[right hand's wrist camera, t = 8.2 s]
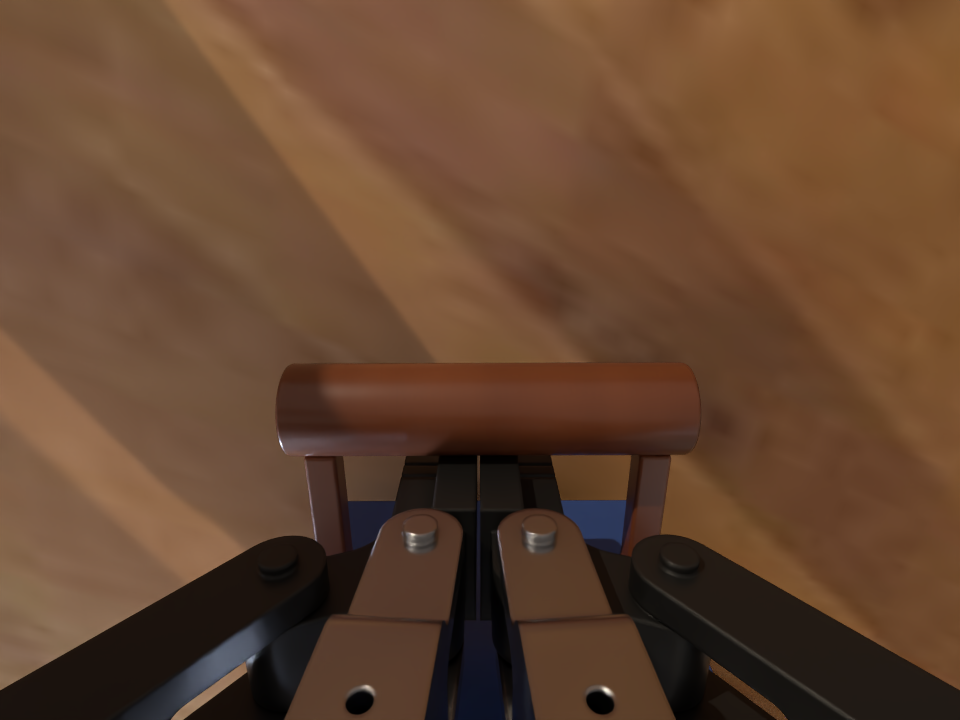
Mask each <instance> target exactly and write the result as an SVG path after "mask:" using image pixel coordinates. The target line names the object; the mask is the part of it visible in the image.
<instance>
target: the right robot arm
mask: <svg viewBox="0 0 960 720" xmlns="http://www.w3.org/2000/svg"><path fill="white" fill-rule="evenodd" d="M476 585H477V456H406V460H405V466H404V468H403V472H402V477H401V480H400V484H399V488H398V492H397V497H396V501H395V505H394V509H393V513H392V517H391V518H390V519H389V520H387V521H386V522H385V523H384V524H383V526H382V527H381V529H380V531H379V533H378V535H377V538H376V540H374V541H373V542H371V543H369V544H367V545H365V546H363V547H360V548H358V549H355V550H351V551H348V552H343V553H339V554H334V555H330V556H326V552H325V549H324V548H323V546H322V545H321V544H320V543H318V542H317V541H315V540H313V539H311V538H308V537H303V536H283V537H278V538H274V539H270V540H267V541H265V542H262V543H260V544H258V545H256V546H254V547H252V548H250V549H249V550H247V551H245V552H243V553H241V554H240V555H238V556H236V557H234V558H233V559H231V560H229V561H227V562H226V563H224V564H222V565H220V566H219V567H217V568H215V569H213V570H212V571H210V572H208V573H206V574H204V575H203V576H201V577H199V578H197V579H196V580H194V581H192V582H190V583H189V584H187V585H185V586H183V587H182V588H180V589H178V590H176V591H175V592H173V593H171V594H169V595H167V596H166V597H164V598H162V599H160V600H159V601H157V602H155V603H153V604H152V605H150V606H148V607H146V608H145V609H143V610H141V611H139V612H138V613H136V614H134V615H132V616H130V617H129V618H127V619H125V620H123V621H122V622H120V623H118V624H116V625H115V626H113V627H111V628H109V629H108V630H106V631H104V632H102V633H101V634H99V635H97V636H95V637H94V638H92V639H90V640H88V641H86V642H85V643H83V644H81V645H79V646H78V647H76V648H74V649H72V650H71V651H69V652H67V653H65V654H64V655H62V656H60V657H58V658H57V659H55V660H53V661H51V662H49V663H48V664H46V665H44V666H42V667H41V668H39V669H37V670H35V671H34V672H32V673H30V674H28V675H27V676H25V677H23V678H21V679H20V680H18V681H16V682H14V683H12V684H11V685H9V686H7V687H5V688H4V689H2V690H0V720H171V718H172V717H173V716H174V715H175V714H176V712H177V711H179V710H180V709H181V708H182V707H183V706H184V705H185V704H187V703H188V702H189V701H191V700H192V699H194V698H195V697H196V696H198V695H199V694H201V693H202V692H203V691H205V690H206V689H207V688H209V687H210V686H212V685H213V684H214V683H216V682H217V681H218V680H220V679H221V678H223V677H224V676H225V675H227V674H228V673H230V672H231V671H232V670H234V669H235V668H236V667H238V666H239V665H241V664H242V663H243V662H246V667H247V673H246V674H244V675H243V676H242V677H240V678H239V679H237V680H236V681H235V682H233V683H232V684H231V685H229V686H228V687H227V688H225V689H224V690H223V691H221V692H220V693H219V694H217V695H216V696H215V697H213V698H212V699H211V700H209V701H208V702H207V703H205V704H204V705H202V706H201V707H200V708H198V709H197V710H196V711H194V712H193V713H192V714H190V715H189V716H188V717H186V718H185V719H184V720H458V712H459V703H460V695H461V686H462V678H463V669H464V626H465V620H476ZM480 621H492V641H493V644H494V647H495V649H496V670H497V678H498V687H499V695H500V704H501V712H502V720H776V719H775V718H774V717H772V716H771V715H770V714H768V713H767V712H766V711H764V710H763V709H762V708H760V707H759V706H758V705H756V704H755V703H753V702H752V701H751V700H749V699H748V698H747V697H745V696H744V695H743V694H741V693H740V692H739V691H737V690H736V689H735V688H733V687H732V686H731V685H729V684H728V683H727V682H725V681H724V680H722V679H721V678H720V677H718V676H717V675H716V674H714V673H713V672H712V671H710V670H709V665H710V660H711V659H713V660H714V661H715V662H717V663H718V664H719V665H721V666H722V667H724V668H725V669H726V670H728V671H729V672H730V673H732V674H733V675H735V676H736V677H737V678H739V679H740V680H741V681H743V682H744V683H746V684H747V685H748V686H750V687H751V688H753V689H754V690H755V691H757V692H758V693H759V694H761V695H762V696H764V697H765V698H766V699H768V700H769V701H770V702H772V703H773V704H774V705H775V706H777V707H778V708H779V709H780V710H781V712H782V713H783V714H784V715H785V716H786V718H787V719H788V720H960V690H958V689H956V688H955V687H953V686H951V685H949V684H948V683H946V682H944V681H942V680H940V679H939V678H937V677H935V676H933V675H932V674H930V673H928V672H926V671H925V670H923V669H921V668H919V667H918V666H916V665H914V664H912V663H911V662H909V661H907V660H905V659H903V658H902V657H900V656H898V655H896V654H895V653H893V652H891V651H889V650H888V649H886V648H884V647H882V646H881V645H879V644H877V643H875V642H874V641H872V640H870V639H868V638H866V637H865V636H863V635H861V634H859V633H858V632H856V631H854V630H852V629H851V628H849V627H847V626H845V625H844V624H842V623H840V622H838V621H837V620H835V619H833V618H831V617H829V616H828V615H826V614H824V613H822V612H821V611H819V610H817V609H815V608H814V607H812V606H810V605H808V604H807V603H805V602H803V601H801V600H800V599H798V598H796V597H794V596H792V595H791V594H789V593H787V592H785V591H784V590H782V589H780V588H778V587H777V586H775V585H773V584H771V583H770V582H768V581H766V580H764V579H763V578H761V577H759V576H757V575H756V574H754V573H752V572H750V571H748V570H747V569H745V568H743V567H741V566H740V565H738V564H736V563H734V562H733V561H731V560H729V559H727V558H726V557H724V556H722V555H720V554H719V553H717V552H715V551H713V550H711V549H710V548H708V547H706V546H704V545H703V544H701V543H699V542H696V541H694V540H691V539H689V538H685V537H681V536H676V535H654V536H650V537H647V538H644V539H642V540H641V541H639V542H638V543H637V544H636V545H635V547H634V548H633V551H632V556H631V557H630V556H625V555H621V554H616V553H612V552H608V551H604V550H600V549H598V548H595V547H592V546H590V545H588V544H587V543H585V541H584V538H583V536H582V533H581V531H580V529H579V527H578V526H577V524H576V523H575V522H574V521H573V520H571V519H570V518H569V517H567V516H565V515H564V512H563V507H562V503H561V499H560V494H559V490H558V486H557V482H556V477H555V473H554V469H553V466H552V460H551V456H550V455H484V456H480Z"/></svg>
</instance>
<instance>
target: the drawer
mask: <svg viewBox="0 0 960 720" xmlns="http://www.w3.org/2000/svg"><path fill="white" fill-rule="evenodd" d="M275 415H276V429H277V435H278V439H279V443H280V446H281V448H282V450H283V451H284V452H285V453H286V454H287V455H289V456H305V458H304V463H305V470H306V478H307V485H308V492H309V500H310V507H311V515H312V522H313V529H314V537H315V541H317V542H318V543H320V544H321V545H322V546H323V548H324V549H325V552H326V556H330V555H334V554H339V553H343V552H348V551H351V550H355V549H358V548H360V547H363V546H365V545H367V544H369V543H371V542H373V541H374V540H376V538H377V535H378V533H379V531H380V529H381V527H382V526H383V524H384V523H385V522H386V521H387V520H389V519H390V518H391V517H392V513H393V509H394V505H395V501H348V499H347V490H346V480H345V471H344V461H343V456H484V455H631V464H630V473H629V481H628V490H627V499H626V500H561V503H562V507H563V512H564V515H565V516H567V517H569V518H570V519H571V520H573V521H574V522H575V523H576V524H577V526H578V527H579V529H580V531H581V533H582V536H583V538H584V541H585V543H587V544H588V545H590V546H592V547H595V548H598V549H600V550H604V551H608V552H612V553H616V554H621V555H625V556H630V557H631V556H632V551H633V548H634V547H635V545H636V544H637V543H638V542H639V541H641V540H642V539H644V538H647V537H650V536H654V535H660V532H661V525H662V518H663V511H664V504H665V497H666V490H667V483H668V476H669V469H670V462H671V456H670V455H685V454H688V453H690V452H691V451H692V450H693V449H694V447H695V445H696V442H697V440H698V436H699V431H700V424H701V401H700V394H699V388H698V384H697V381H696V378H695V376H694V373H693V371H692V370H691V368H690V367H689V366H688V365H686V364H684V363H680V362H668V363H330V364H291V365H289V366H288V367H287V368H286V369H285V370H284V372H283V374H282V376H281V379H280V382H279V386H278V391H277V397H276V411H275ZM709 670H710V671H712V669H711V667H710V665H709ZM712 672H713V671H712ZM458 720H502V712H501V704H500V695H499V687H498V678H497V670H496V649H495V647H494V644H493V641H492V621H480V501H477V585H476V620H465V626H464V669H463V678H462V686H461V695H460V703H459V712H458Z"/></svg>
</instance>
